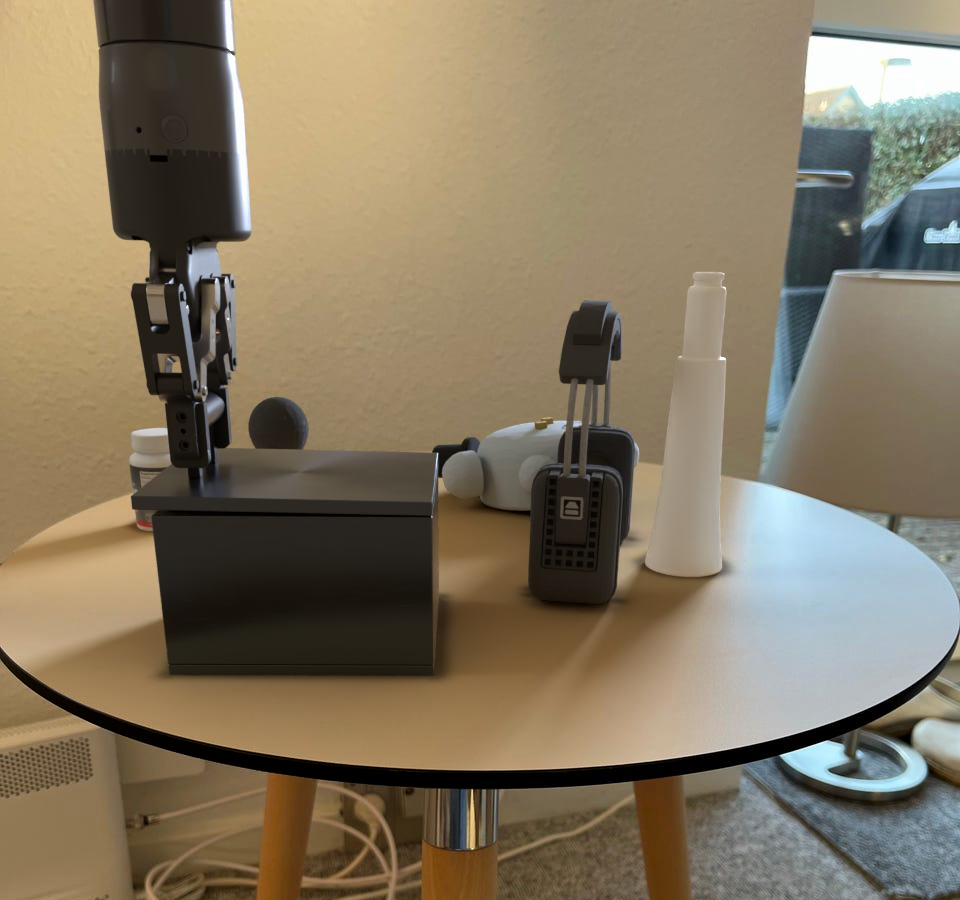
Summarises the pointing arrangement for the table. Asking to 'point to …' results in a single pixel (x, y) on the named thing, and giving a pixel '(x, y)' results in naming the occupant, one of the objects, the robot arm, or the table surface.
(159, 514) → the dark grey open box
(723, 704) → the table surface
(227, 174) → the robot arm
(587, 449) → the headphones
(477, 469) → the figurine
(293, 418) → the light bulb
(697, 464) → the cosmetic bottle
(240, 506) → the dark grey box lid
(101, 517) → the table surface
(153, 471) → the pill bottle
